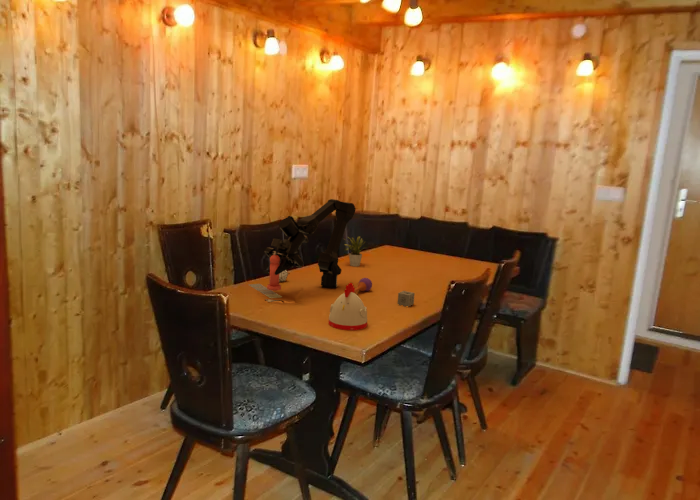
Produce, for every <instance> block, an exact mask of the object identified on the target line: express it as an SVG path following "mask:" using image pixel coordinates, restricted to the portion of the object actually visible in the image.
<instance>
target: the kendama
mask: <svg viewBox="0 0 700 500" xmlns="http://www.w3.org/2000/svg"><path fill="white" fill-rule="evenodd" d="M372 287H373V282H372V280H371V279H370V278H368V277H363V278H361V279H359V282H358V284H357V287H355V290H354V293H355V294H356V293H357V292H359V291H361V292H369V291H370V290H371V289H372Z"/></svg>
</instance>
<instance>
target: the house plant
mask: <svg viewBox="0 0 700 500" xmlns="http://www.w3.org/2000/svg"><path fill="white" fill-rule="evenodd" d="M347 238H348V239H349V240H350V243H349V244H346V243H344V244H343V246H346V251H348V250H350V252H349V253H348V258H349V266H351V267H361V266H360V265H361V262H362V257H363V254H362V253H360V252H362V250H363V249H367V248H368V247H363V248H361V247H362V246H363V245H364V244H365V243H366V241H364V240H363V238H361V236H359V235H358V236H357V238H356V240H355V238H354V237H349V236H347ZM344 240H345V241H347V239H345V238H344Z"/></svg>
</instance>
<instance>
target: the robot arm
mask: <svg viewBox="0 0 700 500" xmlns="http://www.w3.org/2000/svg"><path fill="white" fill-rule="evenodd" d="M356 210H357V209H356V206H355V204H354V203H353V202H348V201H347V202H346V201H341V200H338V199H335V198H330V199H328V200H327V202H325V203H324V204H323V205H322V206H320V207H319V208H318V209H316V211H314V212H313V213H311V214H310V215H306V216H304V217H302V218H299V220H298V221H296V220H295V218H294V217H293V216H292V215H287V217H285V218H283V219H282V220H280V221H279V223H278V227H279V229H280V230H281V231H282V233H284V235H285V236H286V237H287V238H288V239H286V238H284V239H280V238H279V239H278V238H273V239H272V242H271V245H270V246H271V247H266V248H265V250H264V252H263V253H264V254H265V255H266V256H267V257H268V258H269V259H270V257H271V256H272V255H278V256H279V257H280V260H281V261H280V262H279V263H280V265H279V267H278V268H277V270H276V272H275V275H278V274H279V273H281V272H283V271H285V270H286V271H287V270H289V269H291V268H294V267H296V268H302V267H303V265H304V260H303V259H302V258H301V256H300V255H299V254H298V253H299V252H300V250H299V249H300V247H301V246H302V245H303V243H306V244H308V243H309V239H308V236H307V235H305V234H308V235H311V234H312V235H313V234H314V232H316V230H317V229H318V228H319V224H320V223H321V222H322V221H323V220H325V219H326V218H327V217H329V216H330V215H331V214H332V213H334V212H335V213H334V214H335V219H336V220H335V223H334V226H333V229H332V232H331V235H330V239H329V241H328V244H327V248H326V249H325V250H324V251H320V253H319V257H318V258H317V261H318V262H317V265H318V269H319V272H320V273H322V275H321V277H320V286H321V288H322V289H323V288H324V289H337V287H338V276H339V275H341V273H342V268H341V267H340V265H339V264H338V263H339V256H338V251H339V249H340V246H341V243H342V240H343V236H344V234H345V230H346V228H347V224H348V223H349V222H350V221H351V220H352V219H353V217H354V214H355V213H356ZM273 247H274V248H273ZM275 248H276V249H275ZM294 265H295V266H294ZM267 272H268V273H269V274H270V265H269V266H268V269H267Z"/></svg>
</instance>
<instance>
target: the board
mask: <svg viewBox="0 0 700 500" xmlns="http://www.w3.org/2000/svg"><path fill="white" fill-rule="evenodd" d="M248 286H249V287H251V288H253V289H254V290H256V291H257V292H259V293H261V294H263V295H265V296H266V297H268V298H270V299H266V298H264V300H265V301H266V302H268V303H269V302H271V303H273V302H279V301H283V300H280V299H277V298H283V296H282V295H280V294H278V293H277V292H275V291H273V290H268V289H267V286H264V285H263V284H262V283H251V284H248Z"/></svg>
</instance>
